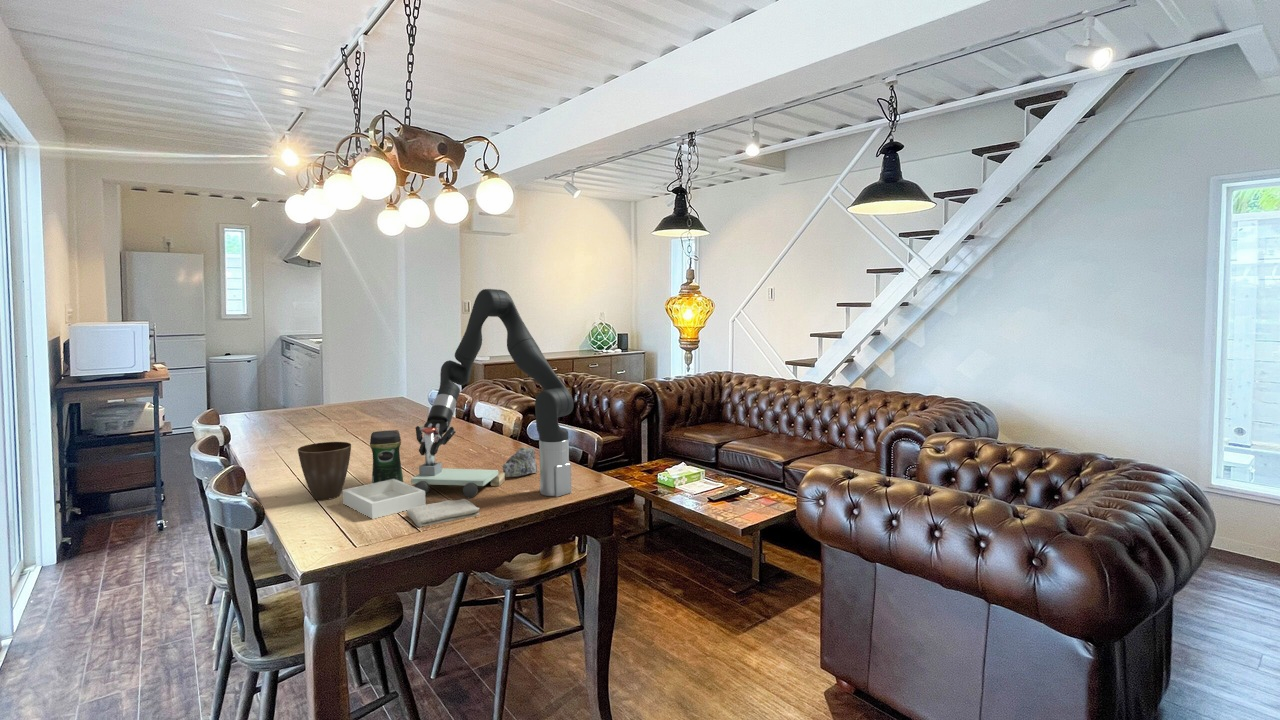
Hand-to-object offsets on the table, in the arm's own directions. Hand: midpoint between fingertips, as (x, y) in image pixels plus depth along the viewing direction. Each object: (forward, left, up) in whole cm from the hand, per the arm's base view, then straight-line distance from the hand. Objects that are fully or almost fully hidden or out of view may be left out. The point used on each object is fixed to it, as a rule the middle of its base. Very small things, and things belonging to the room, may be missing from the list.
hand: (427, 454), depth 198 cm
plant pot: (+18, +24, -12) cm, 33 cm away
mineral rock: (-7, -31, -12) cm, 34 cm away
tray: (-4, +16, -12) cm, 21 cm away
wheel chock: (-11, -19, -12) cm, 25 cm away
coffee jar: (+15, +6, -12) cm, 20 cm away
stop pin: (+1, -2, -7) cm, 7 cm away
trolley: (-6, -7, -12) cm, 15 cm away
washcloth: (-26, +9, -13) cm, 30 cm away
